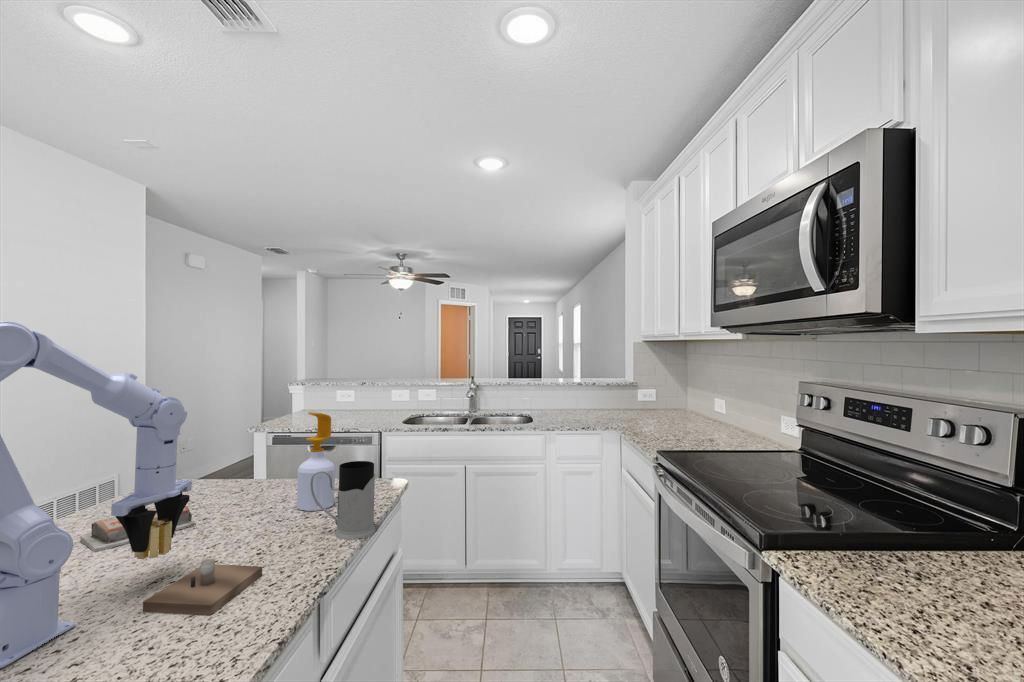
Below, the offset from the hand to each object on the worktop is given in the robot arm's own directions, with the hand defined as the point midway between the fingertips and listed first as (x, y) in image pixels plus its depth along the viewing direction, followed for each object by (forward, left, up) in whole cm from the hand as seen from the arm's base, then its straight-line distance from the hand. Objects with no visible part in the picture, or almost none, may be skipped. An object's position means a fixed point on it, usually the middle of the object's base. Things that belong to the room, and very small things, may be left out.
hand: (153, 544), depth 81 cm
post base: (-2, -12, -7) cm, 13 cm away
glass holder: (+26, -23, -7) cm, 35 cm away
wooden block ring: (0, 0, -1) cm, 1 cm away
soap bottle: (+42, -8, -7) cm, 43 cm away
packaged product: (+21, +21, -7) cm, 30 cm away
